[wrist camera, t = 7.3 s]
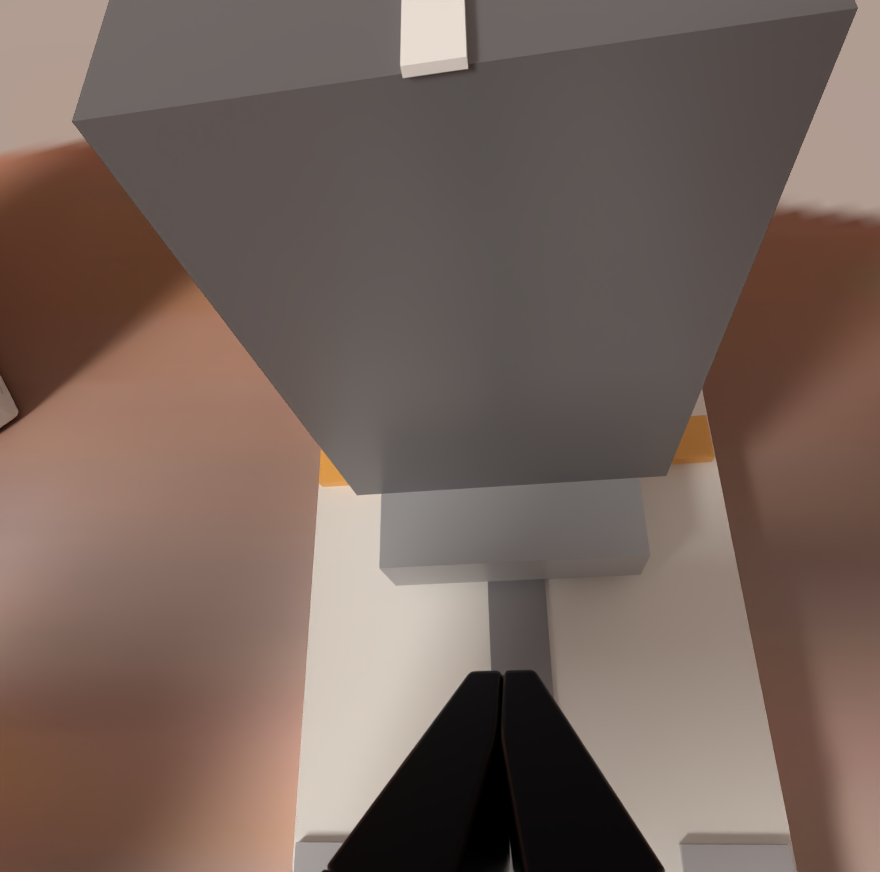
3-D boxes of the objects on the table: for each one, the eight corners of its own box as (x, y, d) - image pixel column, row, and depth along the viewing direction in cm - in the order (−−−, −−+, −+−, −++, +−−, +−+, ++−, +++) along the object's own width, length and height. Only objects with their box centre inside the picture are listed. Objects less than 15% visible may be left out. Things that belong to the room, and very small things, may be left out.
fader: (666, 573, 14) (933, 153, 4) (372, 586, 14) (17, 259, 5) (628, 322, 16) (736, -300, 7) (379, 344, 17) (157, -181, 7)
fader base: (893, 1509, 10) (960, 1660, 8) (284, 1433, 11) (237, 1553, 9) (673, 327, 18) (685, 285, 16) (345, 356, 19) (326, 320, 18)
